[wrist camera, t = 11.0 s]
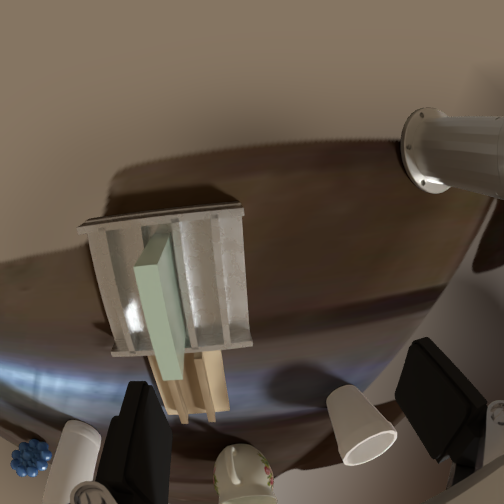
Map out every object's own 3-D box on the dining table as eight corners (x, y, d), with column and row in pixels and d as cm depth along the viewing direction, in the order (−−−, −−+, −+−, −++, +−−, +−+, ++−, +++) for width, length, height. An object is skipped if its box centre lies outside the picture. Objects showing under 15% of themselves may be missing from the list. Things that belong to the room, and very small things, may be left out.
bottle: (60, 428, 41) (28, 547, 13) (71, 413, 40) (35, 548, 12) (94, 447, 43) (74, 566, 15) (107, 434, 42) (87, 568, 14)
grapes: (29, 446, 42) (17, 481, 31) (15, 429, 40) (0, 465, 29) (63, 453, 44) (53, 492, 32) (49, 437, 41) (36, 477, 30)
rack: (239, 201, 33) (243, 206, 29) (248, 329, 39) (252, 346, 35) (89, 218, 31) (76, 226, 27) (119, 339, 36) (112, 357, 32)
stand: (218, 335, 38) (220, 353, 34) (229, 403, 43) (231, 421, 39) (146, 341, 37) (142, 359, 33) (168, 408, 41) (167, 426, 38)
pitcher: (254, 419, 45) (269, 483, 32) (272, 462, 51) (286, 512, 38) (194, 431, 44) (197, 495, 31) (223, 472, 50) (231, 523, 37)
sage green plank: (171, 232, 31) (157, 264, 22) (186, 325, 35) (182, 379, 26) (153, 234, 31) (133, 266, 22) (170, 327, 35) (163, 380, 26)
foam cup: (312, 393, 45) (339, 451, 33) (361, 370, 45) (396, 421, 33) (323, 420, 48) (347, 471, 36) (367, 399, 48) (396, 446, 36)
